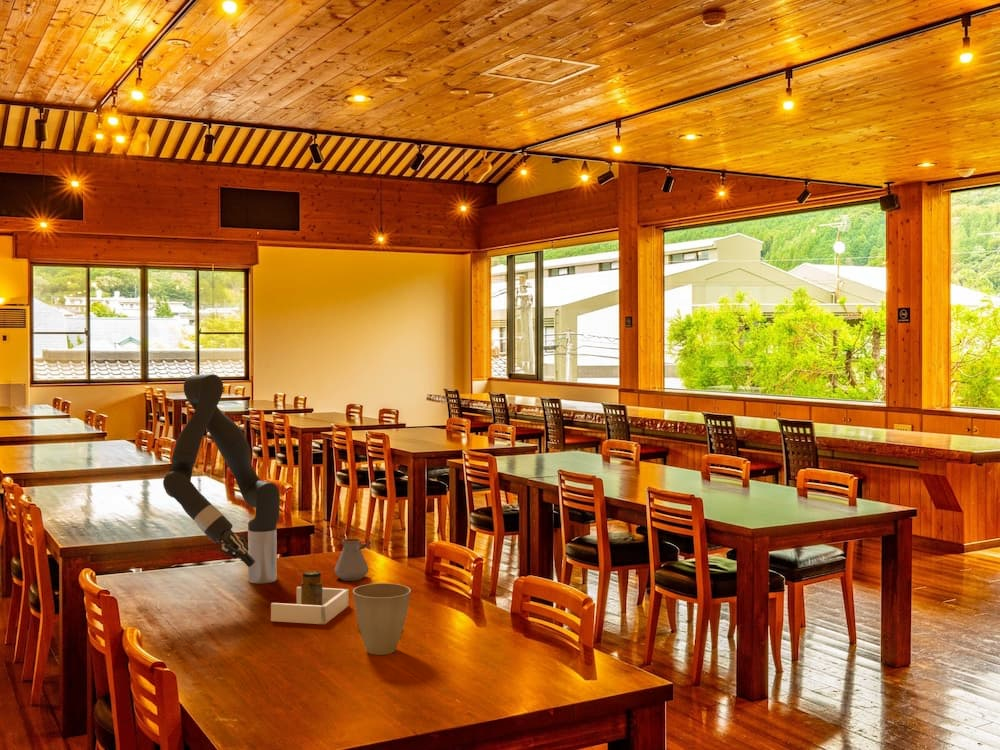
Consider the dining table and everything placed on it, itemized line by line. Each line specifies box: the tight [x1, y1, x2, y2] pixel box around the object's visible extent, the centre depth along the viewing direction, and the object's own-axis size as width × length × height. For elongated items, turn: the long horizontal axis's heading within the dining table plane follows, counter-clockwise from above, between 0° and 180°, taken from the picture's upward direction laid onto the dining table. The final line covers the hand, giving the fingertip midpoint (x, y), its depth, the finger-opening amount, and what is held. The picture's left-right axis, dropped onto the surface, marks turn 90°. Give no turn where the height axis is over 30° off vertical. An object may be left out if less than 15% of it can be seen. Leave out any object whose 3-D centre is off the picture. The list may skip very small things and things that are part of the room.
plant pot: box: [352, 582, 411, 656], centre depth 260 cm, size 15×15×16 cm
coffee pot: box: [334, 538, 374, 582], centre depth 334 cm, size 21×12×15 cm, turn 31°
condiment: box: [300, 570, 323, 606], centre depth 294 cm, size 7×8×12 cm
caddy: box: [270, 586, 350, 625], centre depth 295 cm, size 20×16×5 cm
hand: (252, 564), depth 301 cm, fingers closed
